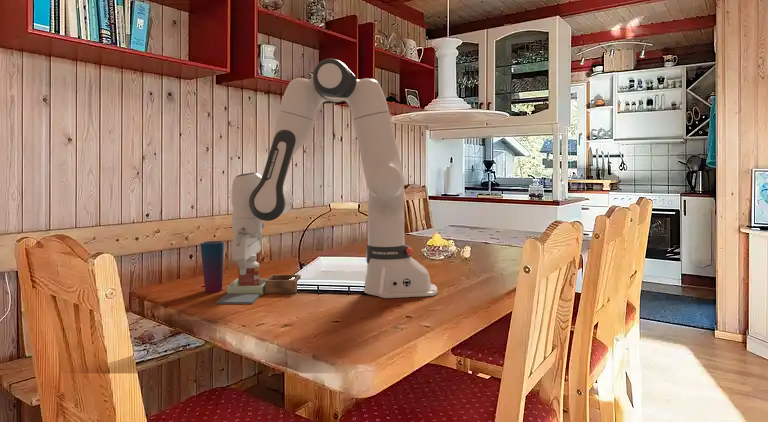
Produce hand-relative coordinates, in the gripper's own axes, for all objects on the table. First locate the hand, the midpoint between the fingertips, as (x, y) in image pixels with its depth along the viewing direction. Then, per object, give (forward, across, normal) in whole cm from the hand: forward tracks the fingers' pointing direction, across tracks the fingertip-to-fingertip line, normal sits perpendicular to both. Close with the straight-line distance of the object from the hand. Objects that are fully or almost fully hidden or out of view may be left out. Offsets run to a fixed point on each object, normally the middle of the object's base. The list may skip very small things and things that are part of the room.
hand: (247, 271), depth 163 cm
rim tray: (+6, 0, 0) cm, 6 cm away
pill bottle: (+6, 0, 0) cm, 6 cm away
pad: (+6, -11, 0) cm, 12 cm away
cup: (+6, 0, +10) cm, 12 cm away
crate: (+6, 0, -11) cm, 12 cm away
